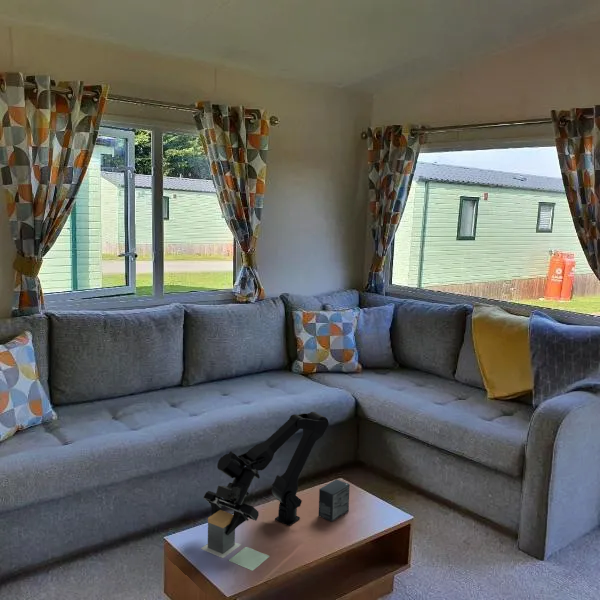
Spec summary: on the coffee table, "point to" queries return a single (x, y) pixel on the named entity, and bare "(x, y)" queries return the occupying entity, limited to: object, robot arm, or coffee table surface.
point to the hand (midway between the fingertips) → (218, 531)
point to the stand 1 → (219, 552)
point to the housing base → (220, 538)
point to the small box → (334, 500)
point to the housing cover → (220, 518)
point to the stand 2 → (249, 558)
